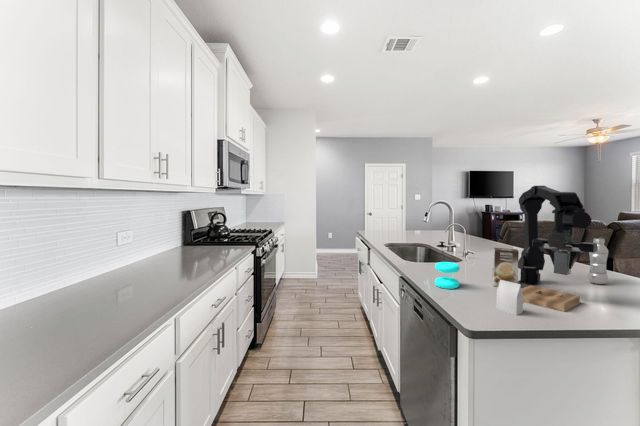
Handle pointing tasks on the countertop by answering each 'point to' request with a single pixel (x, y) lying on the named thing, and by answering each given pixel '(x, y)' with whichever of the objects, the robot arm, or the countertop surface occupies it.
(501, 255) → the coffee box
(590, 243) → the robot arm
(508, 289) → the white upright block
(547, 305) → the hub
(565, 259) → the peg
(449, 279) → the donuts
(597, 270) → the plastic bottle
